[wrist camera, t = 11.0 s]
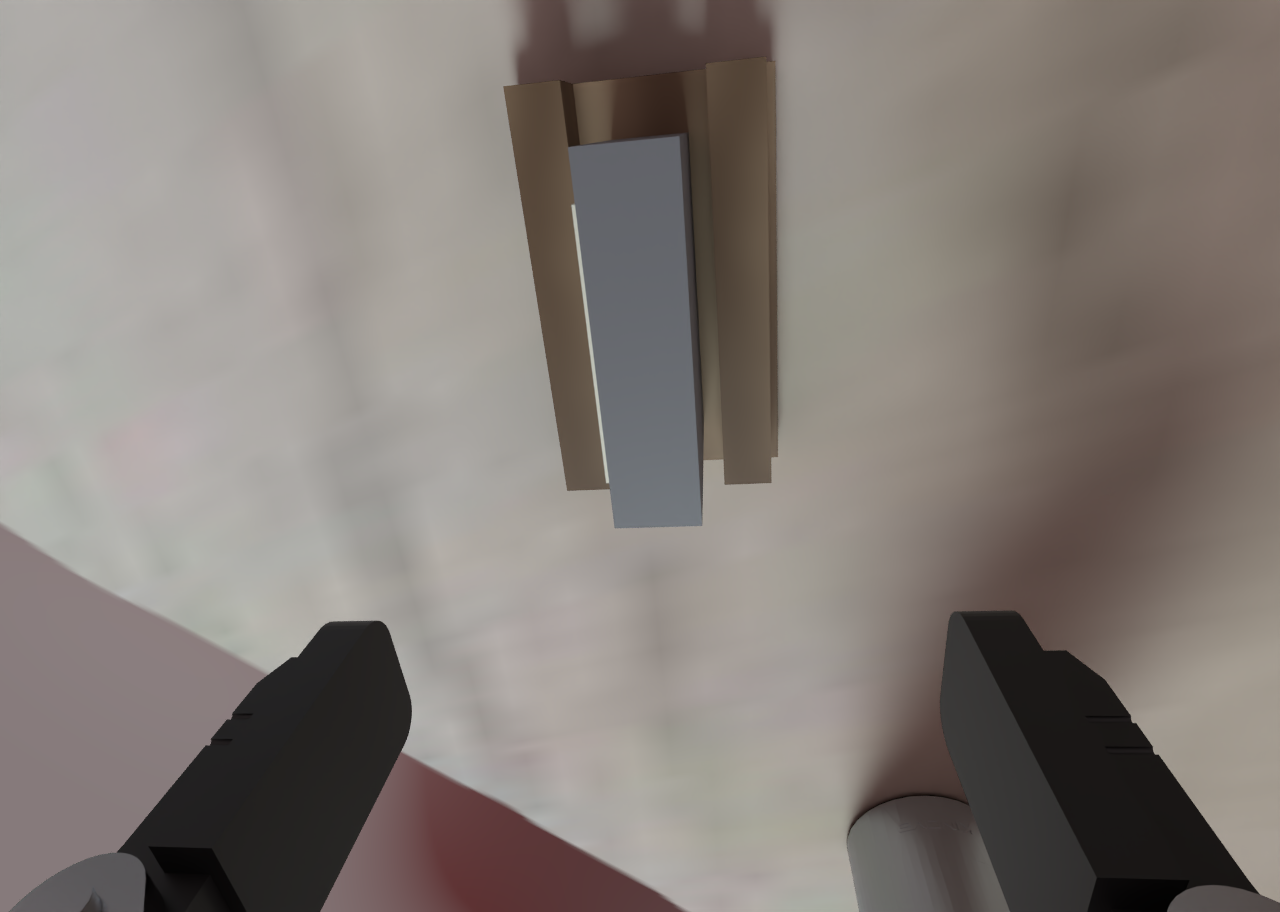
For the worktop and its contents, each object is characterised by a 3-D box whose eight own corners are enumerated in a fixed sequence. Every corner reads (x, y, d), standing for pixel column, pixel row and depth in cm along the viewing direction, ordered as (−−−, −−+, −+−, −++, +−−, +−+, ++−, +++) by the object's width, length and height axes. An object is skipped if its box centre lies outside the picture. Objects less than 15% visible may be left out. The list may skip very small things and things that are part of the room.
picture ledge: (771, 64, 26) (781, 54, 22) (775, 443, 33) (783, 482, 29) (518, 92, 27) (489, 88, 24) (572, 452, 34) (556, 490, 31)
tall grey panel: (688, 132, 26) (679, 136, 18) (703, 421, 31) (702, 525, 23) (606, 140, 26) (560, 147, 18) (634, 424, 32) (609, 528, 23)
